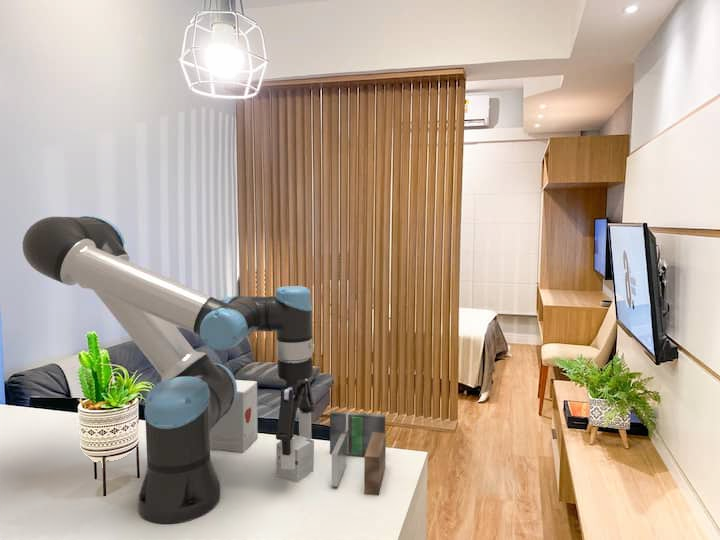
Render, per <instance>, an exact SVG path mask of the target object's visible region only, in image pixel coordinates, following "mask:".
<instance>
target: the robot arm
mask: <svg viewBox="0 0 720 540" xmlns="http://www.w3.org/2000/svg"><path fill="white" fill-rule="evenodd" d="M22 252H23V255H24V257H25V260H26V261H27V263H28V264H29V265H30V267H32V268H33V269H34V270H35V271H37V272H38V273H40V274H42V275H43V276H46V277H47V278H50V279H52V280H55V281H56V282H59V283H61V284H64V285H66V286H75V285H76V284H78V286H79V287H80V288H83V289H89V290H92V291H94V293H95V294H96V296H97V297H98V298H99V300H100V301H101V302H102V303H103V304H104V306H105V307H106V308H107V309H108V310H109V313H111V314H112V316H113V317H114V319H115V320H116V321H117V322H118V323H119V324H120V325H121V327H122V328H123V330H124V331H125V332H126V333H127V334H128V336H129V337H130V338H131V340H132V341H133V342H134V344H135V345H136V346H137V347H138V348H139V349H140V351H141V352H142V354H143V355H144V356H145V357H146V359H147V360H148V362H150V363H151V365H152V366H153V367H154V369H155V370H156V371H157V372H158V374H159V375H160V377H161V381H160V382H159V383H156V384H155V385H154V386H152V387H151V388H150V390H149V391H148V392H147V393H146V397H145V407H144V410H143V411H144V419H145V436H146V437H145V438H146V439H145V440H146V441H145V442H146V444H145V445H146V463H147V464H146V467H147V468H146V471H145V474H144V479H143V482H142V485H141V487H140V488H141V489H140V492H139V494H138V512H139V515H141V517H142V518H144V519H145V520H147V521H151V522H153V523H158V524H159V523H160V524H175V523H181V522H186V521H190V520H193V519H194V520H195V519H196V518H199V517H201V516H204V515H205V514H206V513H208V512H210V511H211V510H213V509H214V508H215V507H217V505H218V503H219V502H220V499H221V485H220V481H219V478H218V476H217V473H216V470H215V467H214V466H213V463H212V460H211V459H212V458H211V449H210V430H211V429H212V428H213V427H214V426H215V424H216V423H217V422H218V421H219V420H220V419H221V418H222V417H223V416H224V415H225V414H227V412H228V411H229V410H230V408H231V406H232V404H233V403H234V401H235V398H236V394H237V385H236V381H235V380H236V379H235V375H234V374H233V373H232V371H231V370H230V369H229V368H227V367H226V366H225V365H222V364H220V363H216V362H213V360H212V359H211V358H210V357H209V355H208V354H207V353H206V352H204V351H203V352H202V351H196V350H195V349H194V348H193V347H192V345H191V344H190V343H189V341H187V339H186V338H185V336H184V334H182V333H181V331H180V330H179V329H178V327H179V328H182V329H185V330H186V331H189V332H191V333H194V334H196V335H198V336H200V338H201V340H202V341H203V342H204V345H206V346H207V347H208V348H210V349H212V350H216V351H225V350H226V351H227V350H228V349H231V348H233V347H236V346H238V345H239V344H241V343H242V342H243V340H244V339H246V338H248V336H249V335H251V334H252V333H254V332H258V333H259V332H276V358H277V359H278V360H277V377H278V378H279V379H281V380H283V381H285V382H286V383H285V385H284V386H285V387H284V388H282V389H280V402H279V403H280V404H279V411H278V421H277V429H276V431H277V432H276V435H275V439H276V441H281V469H295V444H294V437H293V434H294V432H295V431H294V430H295V426H296V425H295V423H296V419H297V412H298V408H299V411H300V412H299V413H298V433H299V435H298V436H302V437H305V438H308V439H311V440H312V413H315V406H314V399H313V393H312V388H311V383H310V382H311V381H310V378H311V377H312V376H313V374H314V367H313V365H314V362H313V358H311V357H312V356H313V349H315V344H314V343H313V342H312V341H313V306H312V297H311V296H312V295H311V291H310V289H309V288H308V287H306V286H302V285H289V286H288V285H285V286H279V287H277V288H276V290H275V294H274V295H272V296H271V295H270V296H254V295H253V296H251V295H250V296H246V295H245V296H243V295H235V296H225V297H222V299H221V300H220V299H217V298H215V297H213V296H211V295H208V294H207V293H206V294H205V293H203V292H201V291H199V290H197V289H194V288H193V287H190V286H188V285H185V284H183V283H180V282H178V281H176V280H173V279H171V278H169V277H166V276H164V275H161V274H159V273H157V272H154V271H153V270H150V269H147V268H145V267H142V266H141V265H137V264H134V263H133V262H131V261H130V255H129V254H128V253H127V251H126V250H125V240H124V236H123V234H122V232H121V230H120V229H119V228H118V227H117V226H116V225H115V224H113V223H112V222H111V221H109V220H107V219H104V218H102V217H101V218H100V217H97V216H96V217H95V216H89V215H86V216H85V215H84V216H79V217H77V216H48V217H44V218H41V219H40V220H37V221H36V222H35V223H33V224H32V225H30V227H29V228H28V229H27V231H26V232H25V234H24V235H23V239H22ZM176 326H177V327H176Z"/></svg>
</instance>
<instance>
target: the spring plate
mask: <svg viewBox="0 0 720 540" xmlns="http://www.w3.org/2000/svg"><path fill="white" fill-rule="evenodd" d="M348 413H349V412H347V413H346V428H345V430H344V432H343V434H341V435H340V437H339V439H338V441H337V443H336V446H335V448H334V450H333V452H332V454H331V487H338V485H339V483H340V482H341V478H342V475H343V473H344V471H345V468H346V465H347V455H346V436H347V434H348V432H349V414H348Z"/></svg>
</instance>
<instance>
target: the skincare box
mask: <svg viewBox="0 0 720 540" xmlns="http://www.w3.org/2000/svg"><path fill="white" fill-rule="evenodd" d="M293 437H294V444H295V469H281V440H279V441H278V442H277V443H276V449H275V450H276V453H275V454H276V457H275V458H276V459H275V461H276V462H275V464H276V465H275V467H276V468H275V474H276V476H278V477H281V478H283V479H286V480H290V481H292V482H295V483H299V482H301V481H302V480H303V479H304V478H306V477H308V476H309V475H310V474H312V473H313V472H314V464H315V463H314V461H315V460H314V459H315V457H314V456H315V440H314V439H312V438H311V439H308V438H305V437H302V436H299V435H296V434H294V433H293ZM311 472H312V473H311Z"/></svg>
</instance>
